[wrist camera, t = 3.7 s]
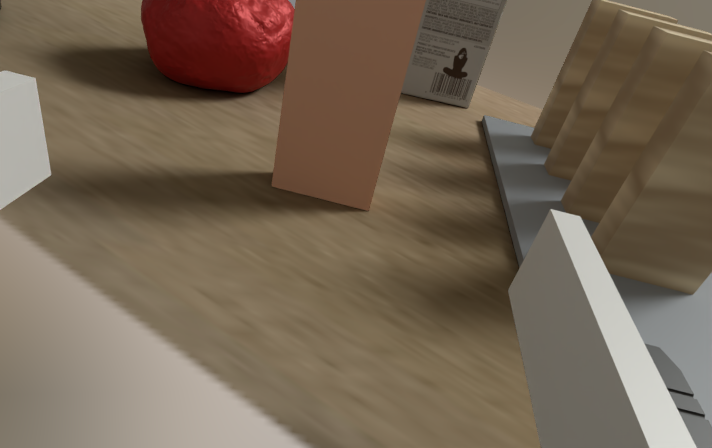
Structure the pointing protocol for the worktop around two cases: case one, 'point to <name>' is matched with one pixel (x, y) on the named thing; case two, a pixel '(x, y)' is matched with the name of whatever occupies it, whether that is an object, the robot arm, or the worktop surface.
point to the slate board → (643, 300)
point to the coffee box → (451, 49)
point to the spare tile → (342, 95)
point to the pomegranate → (219, 41)
